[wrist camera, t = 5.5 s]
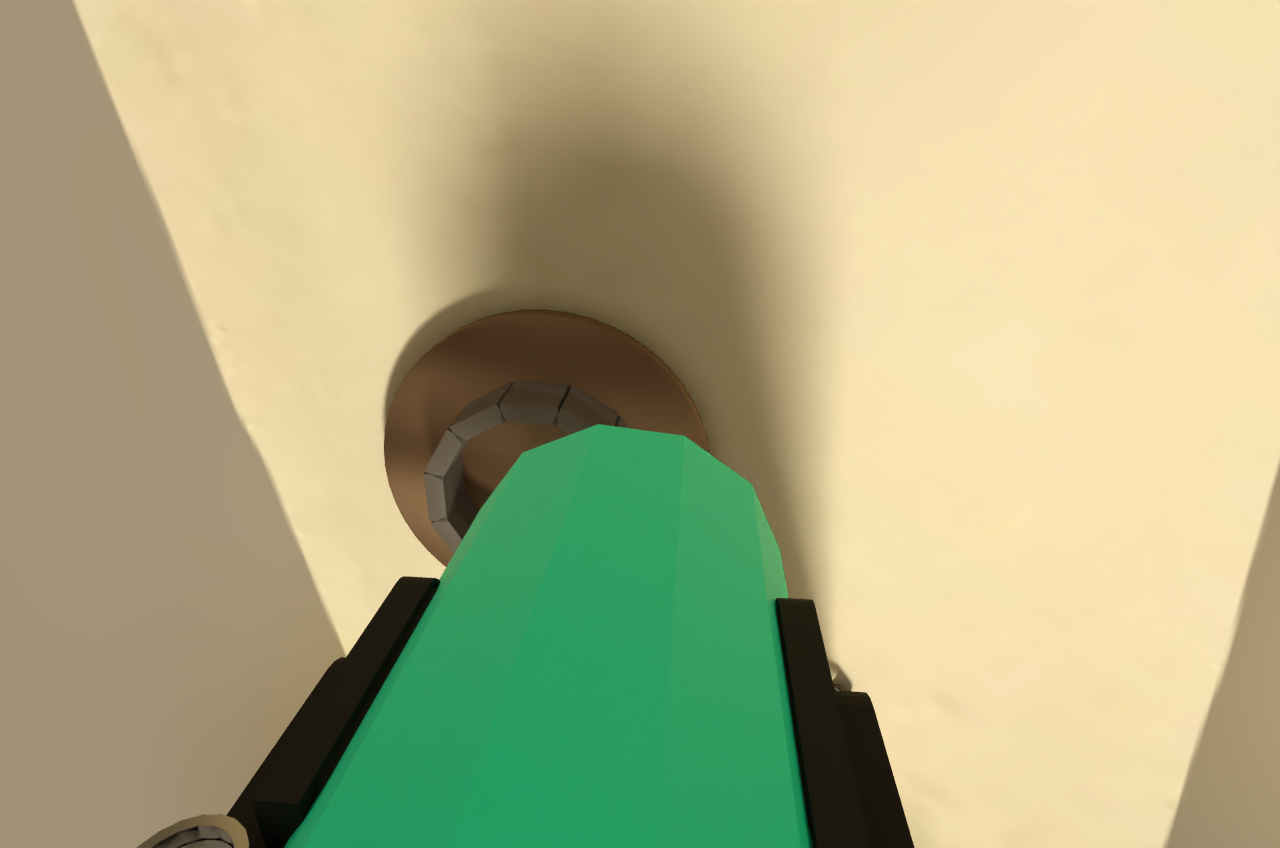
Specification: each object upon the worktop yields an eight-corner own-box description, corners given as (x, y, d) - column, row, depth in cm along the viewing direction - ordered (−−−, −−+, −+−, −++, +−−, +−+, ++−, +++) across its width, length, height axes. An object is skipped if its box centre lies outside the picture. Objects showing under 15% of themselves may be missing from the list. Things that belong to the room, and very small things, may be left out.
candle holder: (373, 300, 29) (333, 323, 26) (722, 319, 28) (725, 345, 25) (411, 583, 36) (382, 629, 32) (698, 606, 35) (698, 655, 31)
